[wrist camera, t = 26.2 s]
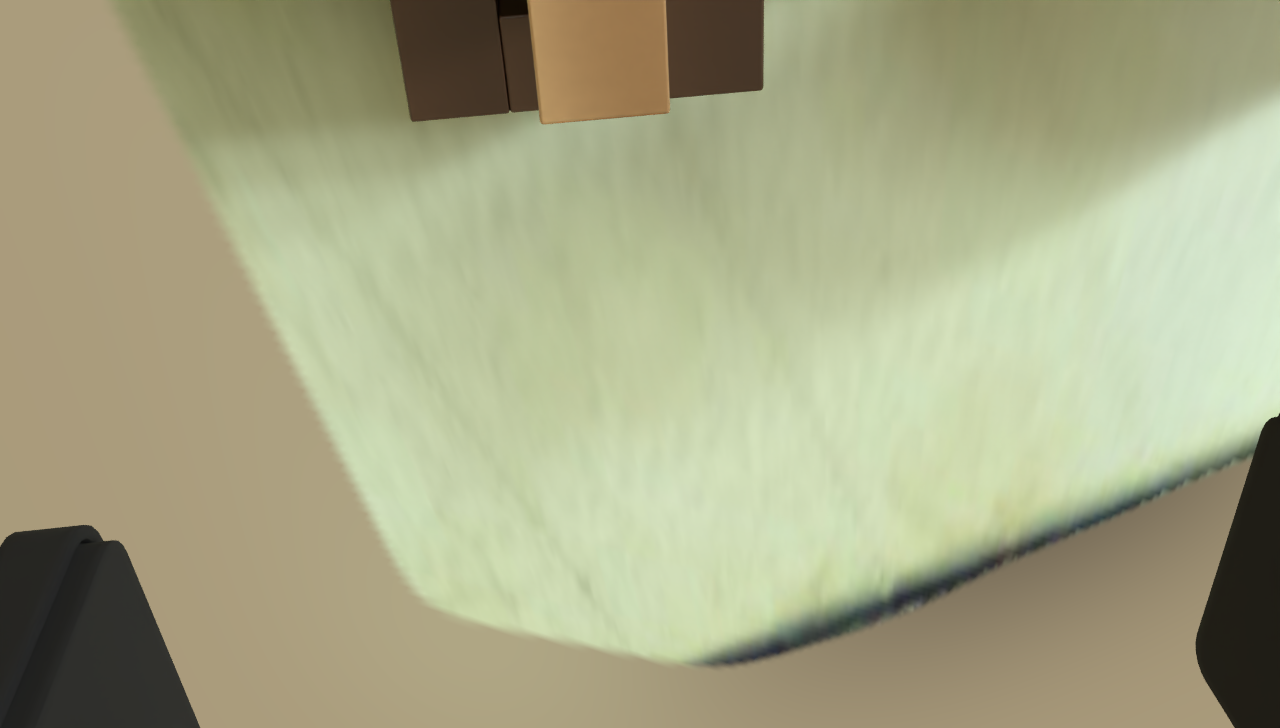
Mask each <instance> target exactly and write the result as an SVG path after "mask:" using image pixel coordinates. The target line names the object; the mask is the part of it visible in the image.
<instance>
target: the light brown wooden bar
mask: <svg viewBox="0 0 1280 728" xmlns="http://www.w3.org/2000/svg"><path fill="white" fill-rule="evenodd" d="M527 4H528V13H529V23H530V32H531V41H532V51H533V60H534V70H535V79H536V88H537V98H538V107H539V116H540V122H541V124H553V123H564V122H575V121H587V120H598V119H610V118H621V117H632V116H644V115H655V114H666V113H669V111H670V95H669V70H668V44H667V18H666V0H527Z"/></svg>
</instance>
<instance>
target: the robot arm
mask: <svg viewBox="0 0 1280 728" xmlns="http://www.w3.org/2000/svg"><path fill="white" fill-rule="evenodd" d="M1196 655H1197V660H1198V664H1199V667H1200V670H1201V673H1202V674H1203V677H1204V679H1205V680H1206V682H1207V684H1208V686H1209V687H1210V689H1211V690H1212V692H1213V693H1214V695H1215V697H1216V698H1217V700H1218V702H1219V703H1220V705H1221V706H1222V708H1223V709H1224V711H1225V713H1226V714H1227V716H1228V717H1229V719H1230V721H1231V722H1232V724H1233V726H1234V727H1235V728H1280V414H1279V416H1278V417H1274V418H1271V419H1269V420H1268V421H1267V422H1266V423H1265V425H1264V427H1263V429H1262V431H1261V434H1260V437H1259V441H1258V444H1257V447H1256V450H1255V453H1254V456H1253V459H1252V463H1251V466H1250V469H1249V472H1248V475H1247V478H1246V481H1245V485H1244V488H1243V491H1242V494H1241V497H1240V500H1239V503H1238V507H1237V510H1236V513H1235V516H1234V519H1233V523H1232V526H1231V529H1230V532H1229V535H1228V538H1227V541H1226V544H1225V548H1224V551H1223V554H1222V557H1221V560H1220V563H1219V566H1218V570H1217V573H1216V576H1215V579H1214V582H1213V585H1212V588H1211V592H1210V595H1209V598H1208V601H1207V604H1206V607H1205V611H1204V614H1203V617H1202V620H1201V623H1200V626H1199V629H1198V633H1197V637H1196ZM0 728H200V726H199V724H198V721H197V719H196V717H195V714H194V712H193V709H192V707H191V705H190V702H189V700H188V697H187V695H186V693H185V690H184V688H183V686H182V683H181V681H180V678H179V676H178V673H177V671H176V669H175V666H174V664H173V661H172V659H171V657H170V654H169V652H168V650H167V647H166V645H165V642H164V640H163V637H162V635H161V633H160V631H159V628H158V626H157V624H156V621H155V618H154V616H153V613H152V611H151V609H150V607H149V604H148V602H147V599H146V597H145V594H144V592H143V590H142V587H141V585H140V583H139V580H138V577H137V575H136V573H135V570H134V568H133V566H132V563H131V561H130V558H129V556H128V553H127V551H126V550H125V548H124V546H123V545H122V544H121V543H120V542H119V541H103V540H102V538H101V536H100V534H99V533H98V531H97V530H96V529H94V528H93V527H92V526H89V525H80V526H70V527H62V528H51V529H42V530H32V531H23V532H15V533H13V534H11V535H9V536H8V537H6V539H5V540H4V542H3V543H2V545H1V547H0Z"/></svg>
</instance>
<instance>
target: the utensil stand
mask: <svg viewBox="0 0 1280 728" xmlns="http://www.w3.org/2000/svg"><path fill="white" fill-rule="evenodd" d="M390 5H391V11H392V16H393V22H394V28H395V33H396V39H397V45H398V50H399V56H400V62H401V67H402V73H403V79H404V84H405V90H406V96H407V102H408V107H409V113H410V119H411V120H412V121H413V122H415V121H426V120H437V119H449V118H460V117H471V116H482V115H493V114H504V113H509V111H511V112H523V111H535V110H539V107H538V98H537V88H536V79H535V70H534V60H533V51H532V41H531V32H530V23H529V13H528V4H527V0H390ZM666 18H667V44H668V70H669V95H670V98H680V97H692V96H703V95H714V94H725V93H736V92H747V91H759V90H762V89H763V68H764V0H666Z"/></svg>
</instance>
